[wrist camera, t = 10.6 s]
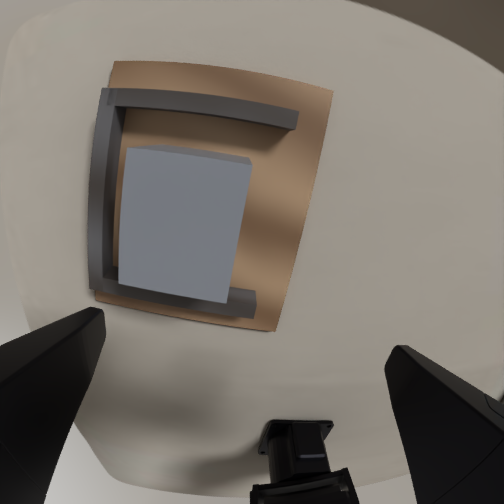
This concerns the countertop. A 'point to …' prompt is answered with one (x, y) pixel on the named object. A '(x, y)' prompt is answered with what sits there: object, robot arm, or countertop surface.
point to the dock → (218, 140)
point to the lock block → (181, 219)
